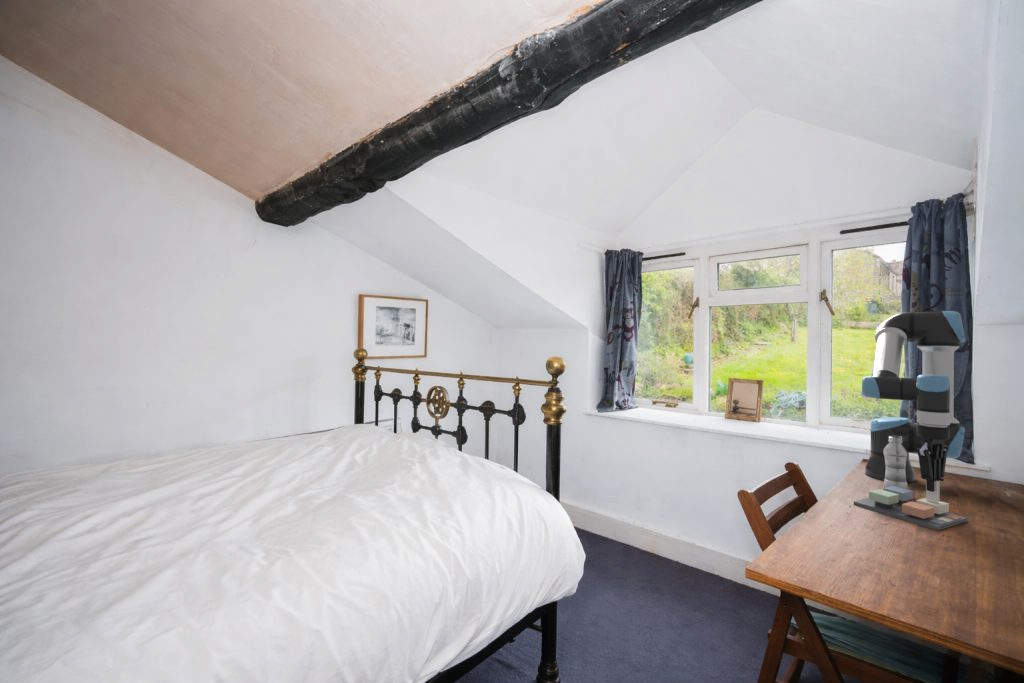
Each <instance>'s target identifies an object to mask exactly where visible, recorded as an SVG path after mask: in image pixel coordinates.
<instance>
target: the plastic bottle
mask: <svg viewBox="0 0 1024 683" xmlns="http://www.w3.org/2000/svg"><path fill="white" fill-rule="evenodd" d="M888 441H889V444H888V445H886V447H885V448H884V450H883V452H884V458H885V465H886V471H885V479H884V480H883V484H882V485H883V489H884V488H886V487H890V486H896V487H900V488H904V489H908V490H909V486H908V482H906V474H905V468H906V460H907V451H906V449H905V448H904V447H903V445H902V444H901V443H903V441H902V437H899V436H889V440H888Z"/></svg>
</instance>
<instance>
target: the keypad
mask: <svg viewBox="0 0 1024 683" xmlns="http://www.w3.org/2000/svg"><path fill="white" fill-rule="evenodd" d="M908 502H909V501H908V500H906V501H901V500H899V502H898V503H894V504H890V505H887V504H884V503H880V502H877V501H874V500H870V499H869V497H867V498H862V499H859V500H855V501H854V500H853V505H854V506H858V507H861V508H864V509H868V510H871V511H874V512H876V513H880V514H884V515H887V516H890V517H893V518H896V519H898V520H899V519H900V520H903V521H906V522H910V523H912V524H914V525H915V524H917V525H920V526H922V527H924V528H925V527H926V528H929V529H933V530H935V531H940V530H943V529H946V528H947V529H948V528H950V527H953V526H957V525H960V524H963V523H966V522H968V517H966V516H962V515H958V514H954V513H950V512H946V513H942V514H936V513H934V516H932V517H929V518H925V519H923V518H920V517H916V516H913V515H909V514H906V513H903V512H902V504H904V503H908Z"/></svg>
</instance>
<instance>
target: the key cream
mask: <svg viewBox="0 0 1024 683" xmlns="http://www.w3.org/2000/svg"><path fill="white" fill-rule="evenodd" d="M916 503H920V504H923V505H927V506H931V507H934V513H936V514H942V513H946V512H948V513H950V503H948V502H946V501H940V500H939V503H935V502H931V501H927V500H926V497H924V498H920V499H917V500H916Z"/></svg>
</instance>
